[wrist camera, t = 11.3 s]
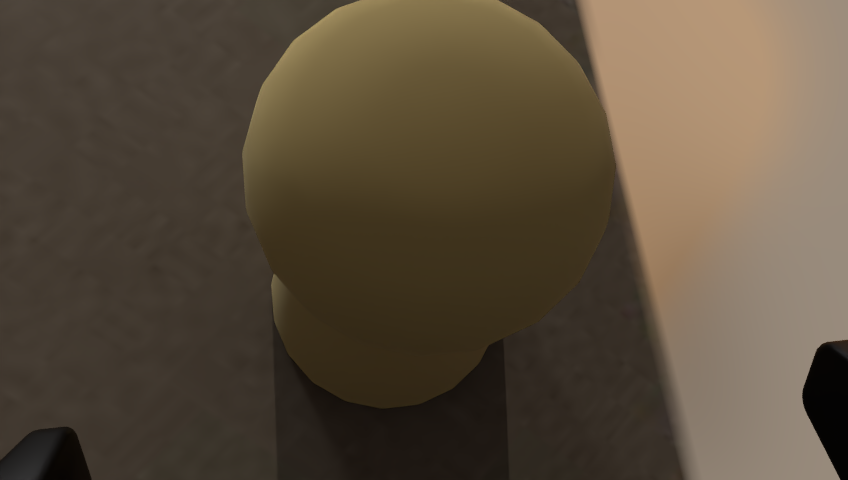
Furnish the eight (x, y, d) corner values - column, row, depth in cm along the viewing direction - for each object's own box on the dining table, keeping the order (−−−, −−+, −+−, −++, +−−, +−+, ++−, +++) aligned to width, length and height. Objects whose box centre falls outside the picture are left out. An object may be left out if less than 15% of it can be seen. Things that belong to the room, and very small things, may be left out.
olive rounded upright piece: (530, 372, 20) (757, 300, 9) (301, 438, 19) (253, 445, 8) (464, 159, 21) (594, -124, 10) (247, 210, 20) (142, -47, 9)
